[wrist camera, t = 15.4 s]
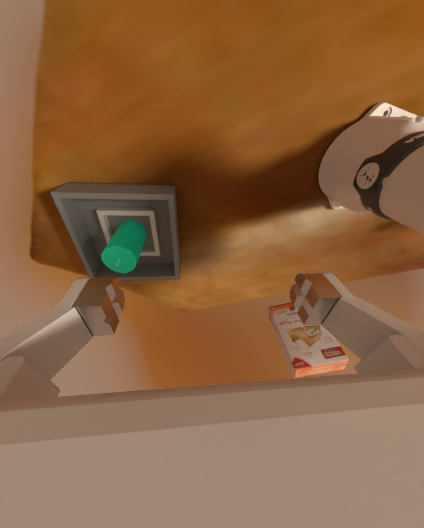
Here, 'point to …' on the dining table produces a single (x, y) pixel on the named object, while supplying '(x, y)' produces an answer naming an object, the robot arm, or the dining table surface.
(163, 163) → the dining table surface
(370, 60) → the dining table surface
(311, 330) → the cracker box
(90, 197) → the walled box
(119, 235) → the candle
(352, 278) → the dining table surface
